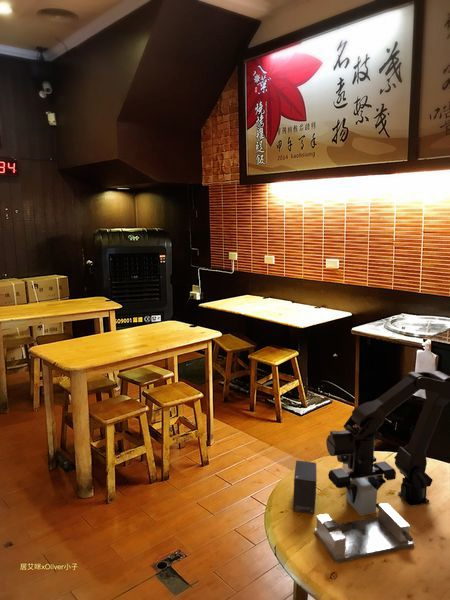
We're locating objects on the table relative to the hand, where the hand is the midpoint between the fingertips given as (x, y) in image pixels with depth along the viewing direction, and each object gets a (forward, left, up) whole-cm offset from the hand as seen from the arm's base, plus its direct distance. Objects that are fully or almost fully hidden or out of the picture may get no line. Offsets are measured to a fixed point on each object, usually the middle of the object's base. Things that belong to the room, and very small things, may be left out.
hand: (360, 501), depth 138 cm
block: (0, 0, -2) cm, 2 cm away
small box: (+15, -6, -2) cm, 16 cm away
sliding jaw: (-2, +13, 0) cm, 13 cm away
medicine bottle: (-7, -15, -2) cm, 17 cm away
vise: (+7, +13, -2) cm, 15 cm away
